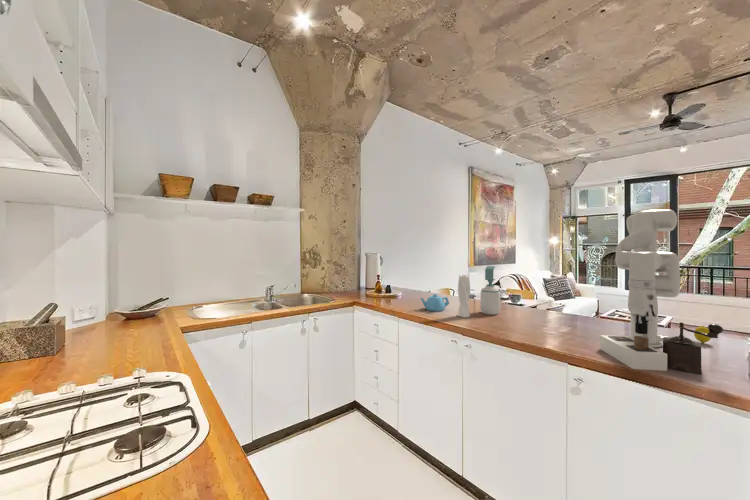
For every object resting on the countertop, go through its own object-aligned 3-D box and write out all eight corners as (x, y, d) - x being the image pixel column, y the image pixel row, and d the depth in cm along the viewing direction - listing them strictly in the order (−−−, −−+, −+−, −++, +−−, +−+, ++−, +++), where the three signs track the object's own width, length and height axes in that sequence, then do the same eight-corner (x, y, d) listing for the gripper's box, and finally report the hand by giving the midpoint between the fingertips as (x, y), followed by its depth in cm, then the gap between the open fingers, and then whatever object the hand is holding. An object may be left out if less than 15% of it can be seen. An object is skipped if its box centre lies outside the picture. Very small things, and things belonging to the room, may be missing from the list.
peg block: (628, 350, 138) (628, 335, 138) (667, 370, 116) (667, 353, 116) (600, 348, 140) (600, 334, 140) (632, 368, 118) (633, 351, 118)
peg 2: (643, 351, 123) (643, 336, 123) (651, 354, 119) (651, 339, 119) (631, 350, 124) (631, 335, 124) (638, 354, 120) (638, 338, 120)
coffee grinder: (661, 367, 119) (662, 319, 119) (662, 359, 127) (662, 314, 127) (723, 379, 108) (724, 326, 108) (719, 370, 117) (720, 320, 116)
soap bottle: (502, 312, 215) (502, 266, 215) (498, 316, 205) (498, 267, 204) (483, 310, 222) (483, 265, 221) (478, 314, 211) (478, 266, 211)
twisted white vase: (473, 317, 202) (474, 272, 202) (465, 318, 198) (465, 273, 197) (463, 314, 209) (463, 271, 209) (454, 316, 205) (454, 272, 204)
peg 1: (623, 350, 136) (623, 337, 136) (629, 354, 132) (629, 340, 132) (612, 350, 137) (612, 336, 137) (618, 353, 133) (618, 339, 133)
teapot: (437, 313, 215) (437, 296, 215) (419, 309, 226) (419, 294, 226) (450, 309, 226) (450, 294, 226) (432, 306, 237) (432, 292, 237)
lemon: (708, 345, 144) (708, 327, 144) (691, 342, 149) (692, 325, 149) (713, 343, 147) (713, 326, 147) (696, 340, 152) (697, 323, 152)
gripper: (667, 287, 113) (667, 339, 113) (640, 282, 128) (639, 328, 128) (643, 287, 114) (643, 338, 115) (619, 282, 129) (618, 328, 129)
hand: (641, 333), depth 121 cm, fingers closed
